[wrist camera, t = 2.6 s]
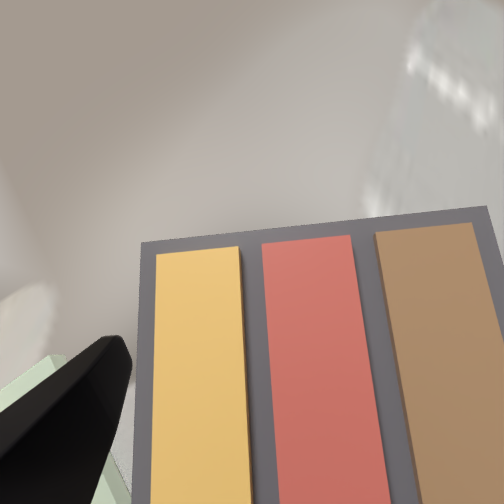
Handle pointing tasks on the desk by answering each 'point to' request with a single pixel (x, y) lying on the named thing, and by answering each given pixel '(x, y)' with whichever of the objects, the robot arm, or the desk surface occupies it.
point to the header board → (111, 483)
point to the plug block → (323, 364)
